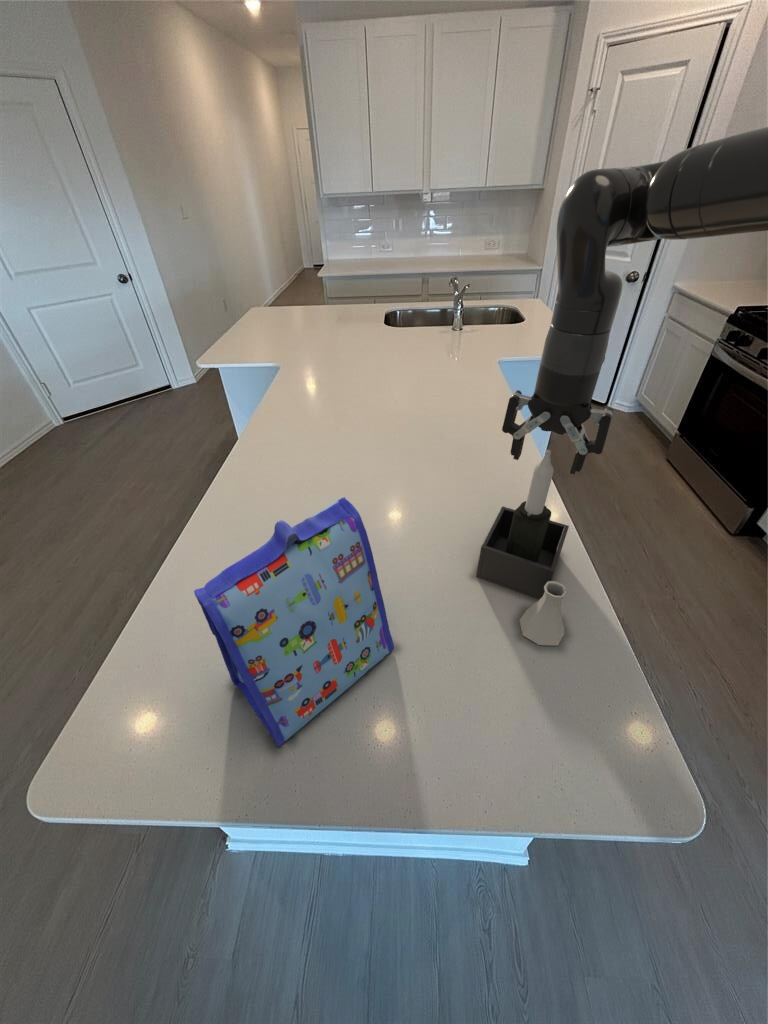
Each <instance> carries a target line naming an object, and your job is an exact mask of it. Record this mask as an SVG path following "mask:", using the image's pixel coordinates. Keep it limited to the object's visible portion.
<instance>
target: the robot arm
mask: <svg viewBox="0 0 768 1024" xmlns="http://www.w3.org/2000/svg"><path fill="white" fill-rule="evenodd" d="M563 197H564V198H563V200H562V201H561V205H560V207H559V211H558V215H557V221H556V254H557V255H556V256H557V257H556V259H557V261H556V262H557V285H558V288H557V294H556V298H555V303H554V308H553V312H552V318H551V322H550V326H549V328H548V331H547V334H546V337H545V341H544V345H543V349H542V354H541V358H540V363H539V367H538V373H537V376H536V382H535V386H534V391H533V394H532V396H529V395H525V394H523V393H522V391H521V390H519V389H516V390H514V392H513V393H512V395H510V398H509V399H508V403H507V406H506V410H505V414H504V419H503V424H502V428H501V431H502V432H503V433H505V434H509V435H511V437H512V441H511V446H510V455H511V456H512V457H513V460H515V461H519V459H520V457H521V455H522V453H523V448H524V443H525V438H526V435H527V434H529V433H531V432H533V431H534V430H535V429H537V428H540V429H541V430H540V431H543V432H552V433H555V434H557V435H560V436H562V435H563V436H564V434H567V435H568V437H569V439H570V441H571V443H573V444H574V446H575V447H576V452H575V455H574V459H573V461H572V465H571V468H570V472H569V474H570V475H576V472H577V473H580V472H581V471H582V469H583V466H584V463H585V460H586V458H587V455H588V454H595V455H601V454H603V451H604V447H605V444H606V441H607V437H608V433H609V429H610V426H611V422H612V418H613V415H614V409H613V408H611V407H606V408H604V409H596V408H593V407H592V400H593V396H594V393H595V390H596V386H597V383H598V379H599V377H600V373H601V370H602V366H603V364H604V363H605V359H606V353H607V351H608V345H609V341H610V340H609V339H610V334H611V329H612V326H613V324H614V321H615V317H616V313H617V310H618V308H619V303H620V299H621V296H622V291H623V280H622V278H621V276H620V275H619V274H617V273H616V272H614V271H611V270H607V269H606V255H607V248H613V247H620V246H627V245H632V244H633V245H634V244H639V243H644V242H652V241H657V240H668V241H669V240H671V241H680V240H681V241H682V240H683V241H684V240H691V239H692V240H693V239H702V238H711V237H713V238H714V237H722V236H732V235H739V234H748V233H757V232H758V233H759V232H768V126H766V127H765V126H764V127H762V128H758V129H753V130H749V131H745V132H741V133H737V134H734V135H731V136H728V137H724V138H719V139H716V140H712V141H709V142H706V143H705V142H704V143H701V144H698V145H694V146H692V147H689V148H686V149H684V150H682V151H679V152H678V153H675V154H673V155H672V156H671V157H669V158H668V159H666V160H663V161H658V162H653V163H649V164H642V165H636V166H624V167H623V166H622V167H610V168H609V167H607V168H606V167H605V168H596V169H591V170H588V171H586V172H584V173H583V174H581V175H580V176H578V177H577V178H576V179H575V180H574V181H573V183H572V184H571V185H570V187H569V188H568V190H567V192H566V193H565V196H563ZM525 406H527V408H528V410H529V413H530V416H528V418H527V419H525V420H524V421H523V422H522V423H520V424H518V423H516V419H517V416H518V411H522V410H523V408H524V407H525ZM589 419H592V420H593V425H594V426H596V427H597V428H598V430H597V433H596V437H595V440H590V439H589V436H588V435H587V432H586V428H585V425H584V423H585V422H586V421H588V420H589Z"/></svg>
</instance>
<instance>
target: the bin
mask: <svg viewBox="0 0 768 1024" xmlns="http://www.w3.org/2000/svg"><path fill="white" fill-rule="evenodd" d="M515 510H516V509H513V508H509V507H506V506H503V505H502V506H501V508H500V509H499V512H498V513H497V516H496V518H495V519H494V521H493V523H492V525H491V527H490V529H489V531H488V532H487V535H486V537H485V539H484V540H483V542H482V544H481V546H480V550H479V558H478V561H477V569H476V575H475V577H476V578H478V579H481V580H483V581H487V582H490V583H492V584H495V585H498V586H500V587H503V588H506V589H509V590H512V591H514V592H517V593H520V594H522V595H525V596H528V597H530V598H533V599H537V600H539V599H540V598H542V597H543V595H544V592H545V590H544V586H545V585H546V583H547V582H548V581H552V579H553V578H554V574H555V571H556V567H557V565H558V562H559V558H560V555H561V552H562V549H563V546H564V543H565V540H566V537H567V534H568V531H569V528H570V525H569V524H568V525H567V524H565V523H560V522H557V521H553V520H551V519H550V521H549V524H548V527H547V531H546V534H545V537H544V541H543V544H542V547H541V551H540V554H539V558H538V561H537V563H536V562H533V561H530V560H527V559H524V558H521V557H518V556H515V555H512V554H509V553H506V547H507V543H508V538H509V534H510V529H511V525H512V520H513V516H514V511H515Z"/></svg>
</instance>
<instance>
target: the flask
mask: <svg viewBox="0 0 768 1024" xmlns="http://www.w3.org/2000/svg"><path fill="white" fill-rule="evenodd" d="M544 590H545V592H544V595H543V597H542V598H540V599H537V601H536V602H534V603H533V604H532V605H531V606H529V607H528V608H527V609H526V610H525V611H524V613H523V615H522V616H521V617H520V619H519V620H518V621H519V625H520V630H521V634H522V636H523V637H524V638H526V639H528V640H530V641H531V642H533V643H535V644H537V645H538V646H553V647H554V646H555V647H556V646H559V645H560V642H561V640H562V639H563V637H564V636H565V634H566V632H565V625H564V621H563V616H562V615H563V614H562V609H561V608H562V600H563V599H564V598H565V596H566V595H567V589H566V586H565V585H564V584H562V583H560V582H558V581H555V580H553V581H552V580H551V581H548V582H547V583H546V585H545V586H544Z"/></svg>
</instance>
